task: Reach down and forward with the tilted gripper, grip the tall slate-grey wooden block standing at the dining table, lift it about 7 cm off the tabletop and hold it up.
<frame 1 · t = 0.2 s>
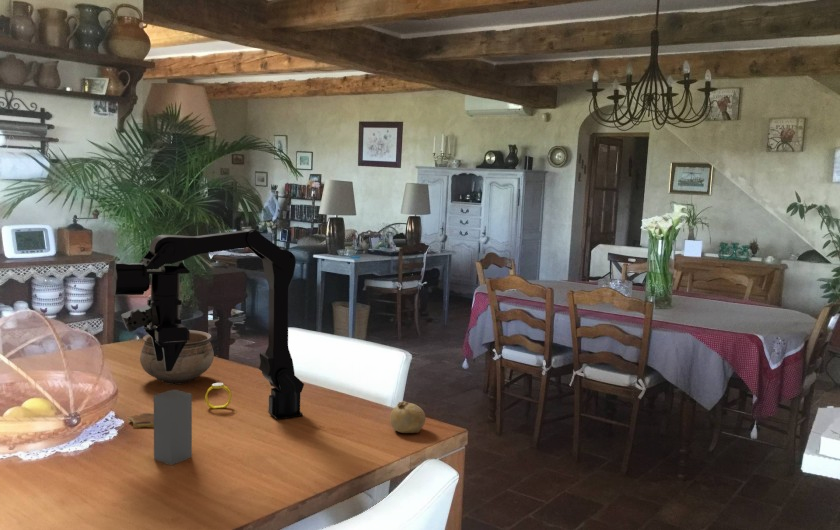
hand: (164, 365, 152), 15 cm above the table, tool pointing down, fingers open, 9 cm apart
shard: (156, 424, 160), on the table
slate block: (173, 458, 140), on the table
cooking pot: (177, 381, 192), on the table
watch: (218, 408, 171), on the table
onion: (407, 432, 160), on the table
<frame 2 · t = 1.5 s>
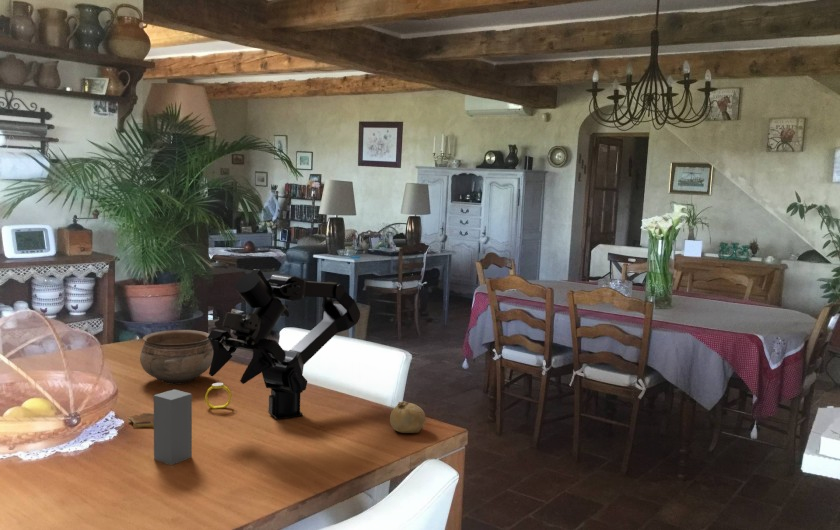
hand: (225, 378, 150), 13 cm above the table, tool tilted 45°, fingers open, 9 cm apart
nothing on the table moved.
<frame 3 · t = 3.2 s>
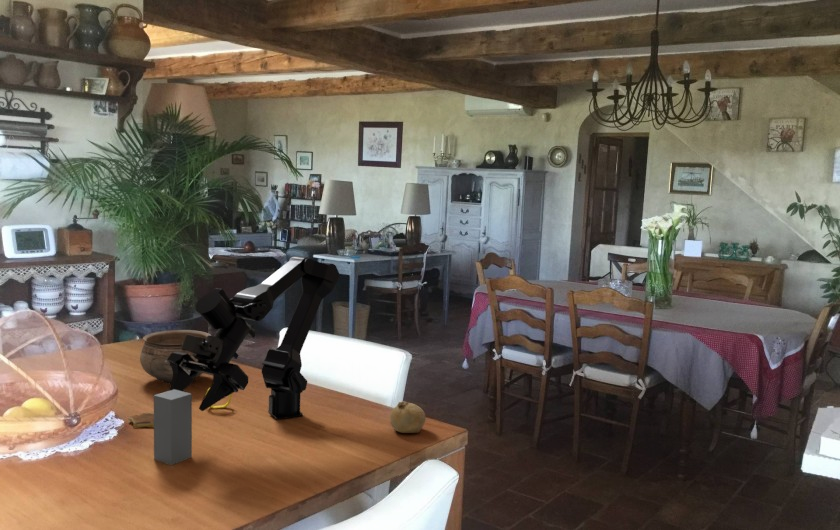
hand: (184, 405, 141), 10 cm above the table, tool tilted 45°, fingers open, 9 cm apart
nothing on the table moved.
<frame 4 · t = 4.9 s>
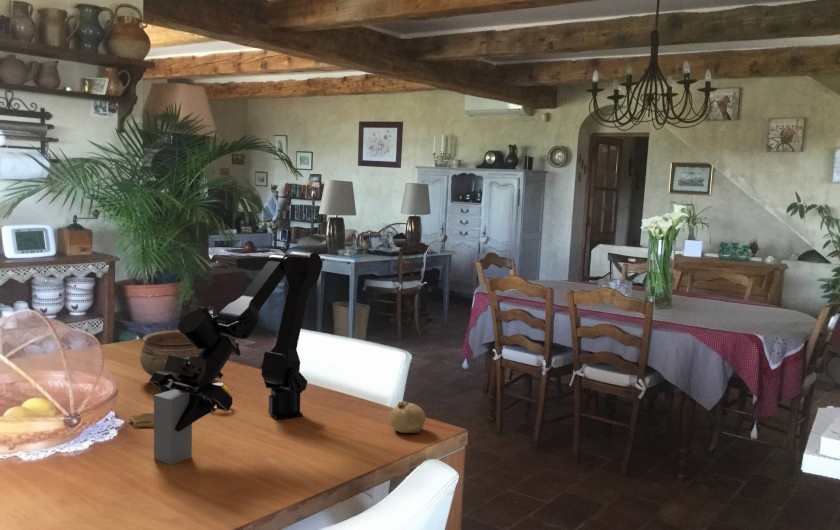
hand: (166, 427, 138), 7 cm above the table, tool tilted 45°, fingers closed on slate block, 5 cm apart
slate block: (173, 458, 140), on the table, touching gripper
everything else where it was.
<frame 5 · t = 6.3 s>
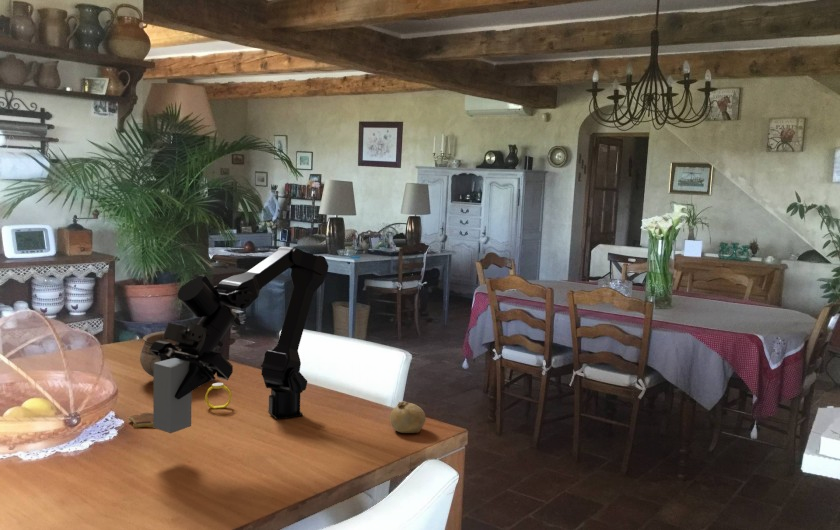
hand: (166, 395, 137), 13 cm above the table, tool tilted 45°, fingers closed on slate block, 5 cm apart
slate block: (172, 426, 139), point 6 cm above the table, touching gripper
everything else where it was.
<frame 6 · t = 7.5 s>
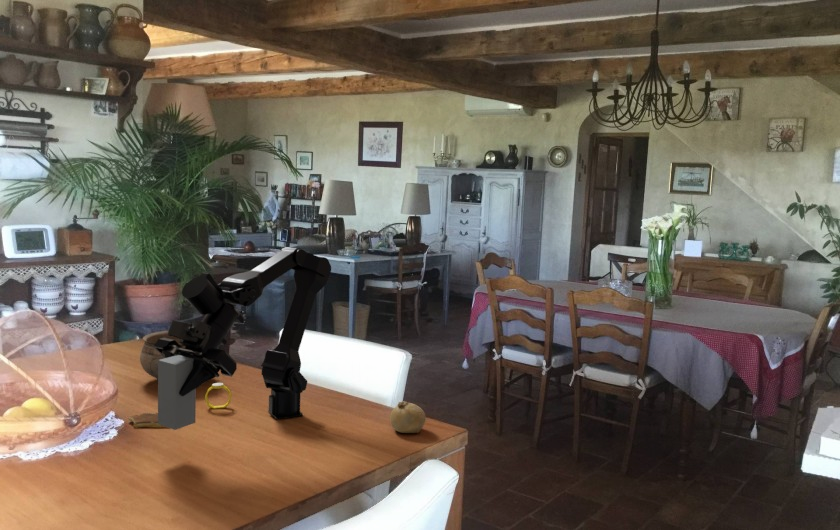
hand: (171, 392, 138), 13 cm above the table, tool tilted 45°, fingers closed on slate block, 5 cm apart
slate block: (176, 423, 140), point 7 cm above the table, touching gripper
everything else where it was.
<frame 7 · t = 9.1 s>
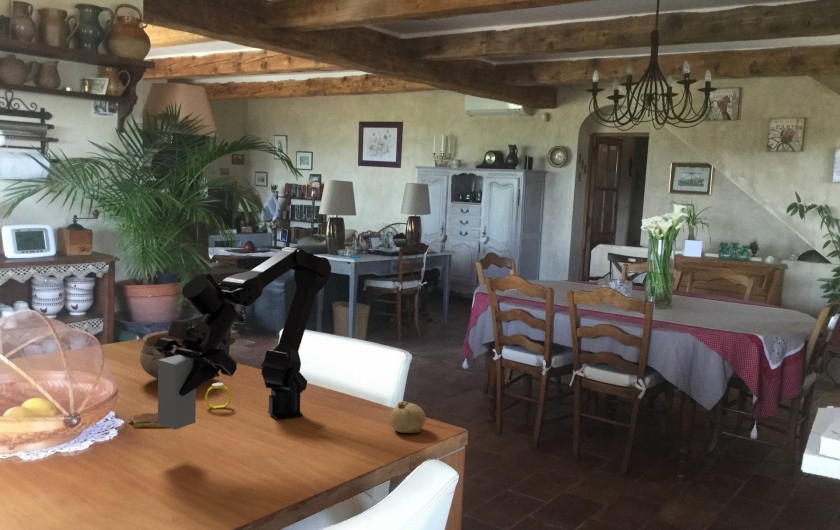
hand: (171, 392, 138), 13 cm above the table, tool tilted 45°, fingers closed on slate block, 5 cm apart
slate block: (176, 423, 140), point 7 cm above the table, touching gripper
everything else where it was.
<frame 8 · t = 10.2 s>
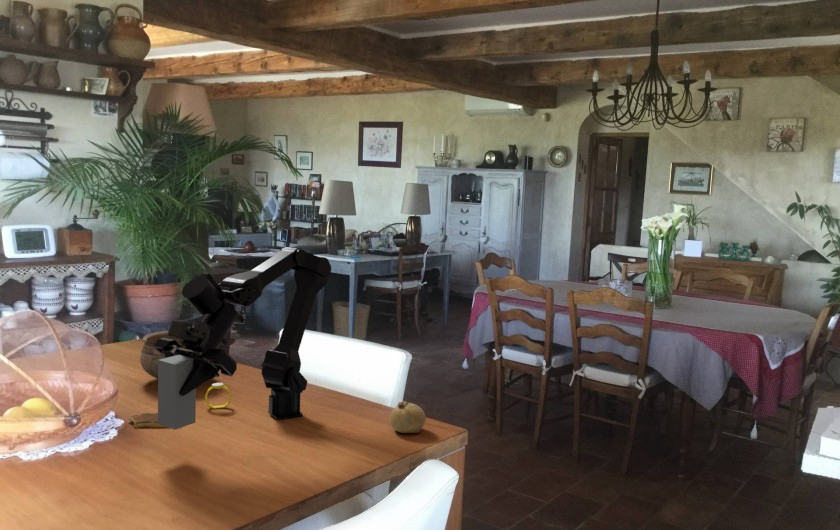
hand: (171, 392, 138), 13 cm above the table, tool tilted 45°, fingers closed on slate block, 5 cm apart
slate block: (176, 423, 140), point 7 cm above the table, touching gripper
everything else where it was.
at the end: the gripper is holding slate block; slate block point 6.8 cm above the table; slate block tilted 1° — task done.
